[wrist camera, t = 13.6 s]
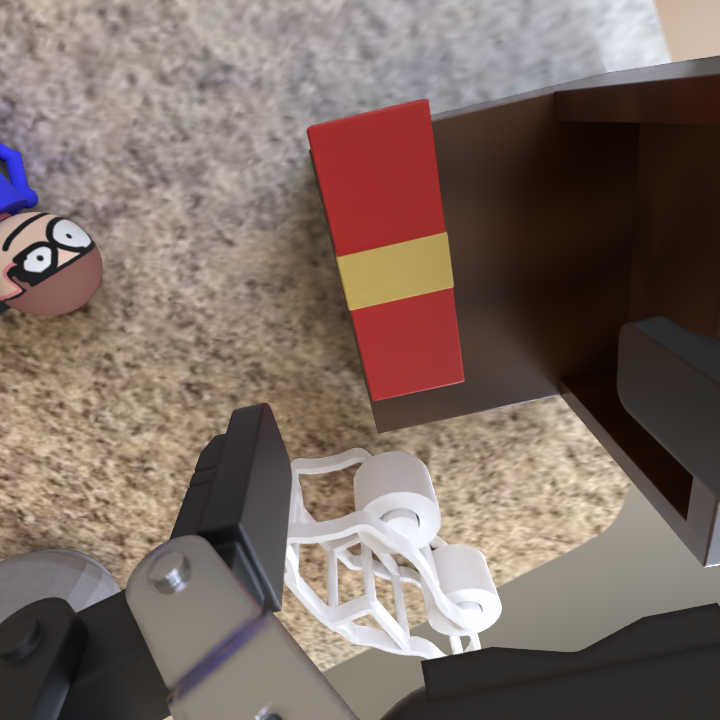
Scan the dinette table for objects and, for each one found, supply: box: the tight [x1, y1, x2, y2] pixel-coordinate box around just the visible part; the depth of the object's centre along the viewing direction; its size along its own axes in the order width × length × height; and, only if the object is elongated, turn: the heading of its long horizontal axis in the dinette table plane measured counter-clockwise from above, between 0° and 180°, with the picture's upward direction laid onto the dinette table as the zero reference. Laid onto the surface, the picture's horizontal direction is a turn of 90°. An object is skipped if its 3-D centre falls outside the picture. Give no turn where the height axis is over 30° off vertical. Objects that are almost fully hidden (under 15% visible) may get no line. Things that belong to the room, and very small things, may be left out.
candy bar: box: [307, 99, 464, 401], centre depth 21 cm, size 12×5×4 cm, turn 12°
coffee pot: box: [0, 549, 121, 623], centre depth 32 cm, size 21×12×15 cm, turn 123°
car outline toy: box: [284, 448, 502, 659], centre depth 36 cm, size 20×11×7 cm, turn 29°
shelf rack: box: [309, 56, 720, 567], centre depth 21 cm, size 16×16×17 cm
